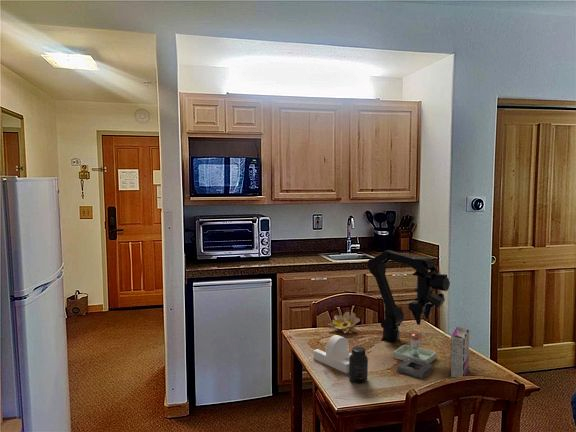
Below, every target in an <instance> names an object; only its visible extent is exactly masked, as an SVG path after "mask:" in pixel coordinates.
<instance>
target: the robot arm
mask: <svg viewBox="0 0 576 432" xmlns="http://www.w3.org/2000/svg"><path fill="white" fill-rule="evenodd" d="M390 261H392V262H396V263H398V264H403V265H405V266H409V267H410V268H412V269H413V270H415V271H414V272H413V273H412V276H414V277H416V276H417V277H416V279H417V281H416V288H415V289H414V292H416V297H415V298H414V300H413V301H411V302H409V303H408V305H407V308H408V310H409V311H410V312H411V314H412V316H413V318H414V320H415V322H416V324H417V325H419V326H420V325H421V322H422V316H423V315H424V317H425V318H424V319H425V320H427V321H428V320H429V319H430V315H431V312H432V308H433V307H436V308H440V307H442V306H443V304H444V302H445V301H446V299H445V298H446V297H445V294H444V293H442V292H440V293H439V294H437V293H434V290H437V291H443V292H447V291H448V290H449V289H450V286H451V284H450V283H451V282H450V278H449V277H448V274H445V273H443V274H442V273H439V271H438V269H437V268H436V266H435V265H434V261H433V259H432V258H431V257H425V256H413V255H408V254H404V253H401V252H398V251H394V250H391V249H389V250H383V252H382V253H380V254H378V255H377V256H375V257H373V258H370V259H368V260H367V263H366V265H367V269H368V271H369V273H370V274H371V275H372V276H373V277H374V278H375V282H376V285H377V287H378V289H379V293H380V295H381V299H382V302H383V305H384V313H383V314H384V320H382V321H381V322H380V326H381V328H382V337H381V339H380V340H381V341H385V342H389V343H392V344H394V343H396V342H397V341H399V340H400V339H401V338H400V330H399V327H400V326H401V324H402V323H403V322H404V320H405V314H404V311H403V308H402V307H401V306H398V305H397V304H396V303H395V299H394V296H393V294H392V291H391V288H390V285H389V282H388V279H387V276H386V271H387V267H386V264H387V263H389V262H390ZM433 289H434V290H433Z"/></svg>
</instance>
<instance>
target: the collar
mask: <svg viewBox="0 0 576 432" xmlns="http://www.w3.org/2000/svg"><path fill="white" fill-rule="evenodd" d="M396 368H397V369H396V371H397V372H399V373H401V374H405V375H408V376H411V377H415V378H416V379H421V380H423V379H424V378H426V377H427V376H428V375H429V374H430V373H431V372H432V371H433V364H431V363H430V364H427V363H423V362H420V361H416V360H413V359H409V358H408V359H406V360H405V361H403V362H401V363H400V364H398V365H397V367H396Z"/></svg>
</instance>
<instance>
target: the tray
mask: <svg viewBox="0 0 576 432" xmlns="http://www.w3.org/2000/svg"><path fill="white" fill-rule="evenodd" d="M392 358H393V359H396V360H400V361H403V362H404V361H405V360H406V359H408V358H409V359H413V360H416V361H420V362H423V363H427V364H430V365H431V363H432V362H433V361H434V360H436V359H437V352H436V351H432V350H430V349H429V350H428V349H425V348H421V347H419V358H416V357H412V356H410V345H409V344H406V343H405V344H403V345H401V346H399V347H398V348H397V349H395V350H394V351H393V352H392Z"/></svg>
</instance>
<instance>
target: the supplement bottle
mask: <svg viewBox="0 0 576 432" xmlns="http://www.w3.org/2000/svg"><path fill="white" fill-rule="evenodd" d="M351 348H352V349H351V353H352V354H351V355H350V357H349V372H348V379H349V381H350V382H351V383H354V384H356V385H357V384H359V385H360V384H361V385H363V384H365V383H366V382H367V381H368V377H369V376H368V375H369V374H368V372H369V368H368V366H369V365H368V364H369V363H368V362H369V360H368V358H369V357H367V355H366V348H365V347H363V346H358V345H356V346H353V347H351Z"/></svg>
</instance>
